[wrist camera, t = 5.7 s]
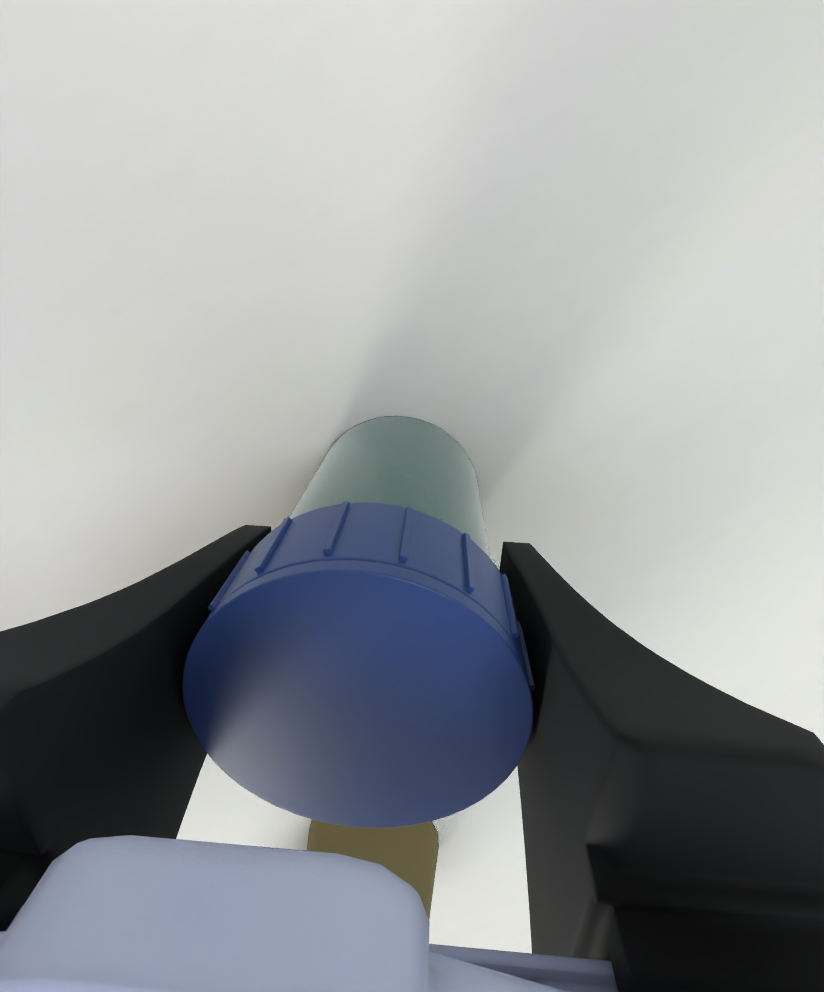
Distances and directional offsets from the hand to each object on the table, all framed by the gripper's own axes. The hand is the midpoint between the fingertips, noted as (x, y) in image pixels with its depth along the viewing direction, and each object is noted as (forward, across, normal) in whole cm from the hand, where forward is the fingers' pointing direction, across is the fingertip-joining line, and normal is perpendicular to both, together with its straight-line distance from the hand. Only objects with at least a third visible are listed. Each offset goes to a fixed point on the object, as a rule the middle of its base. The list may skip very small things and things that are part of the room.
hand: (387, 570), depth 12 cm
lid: (-4, 0, 0) cm, 4 cm away
